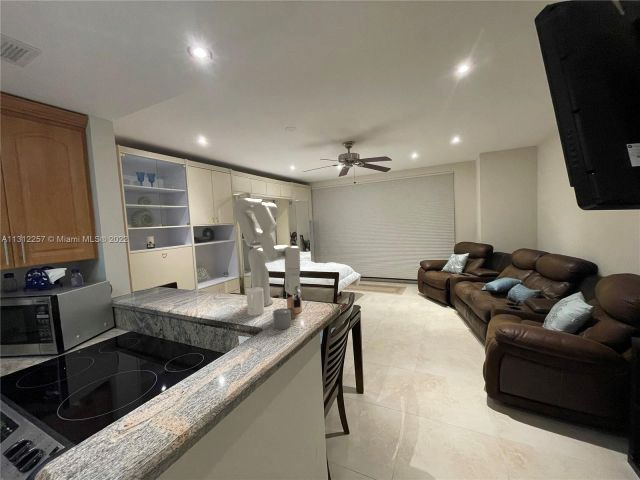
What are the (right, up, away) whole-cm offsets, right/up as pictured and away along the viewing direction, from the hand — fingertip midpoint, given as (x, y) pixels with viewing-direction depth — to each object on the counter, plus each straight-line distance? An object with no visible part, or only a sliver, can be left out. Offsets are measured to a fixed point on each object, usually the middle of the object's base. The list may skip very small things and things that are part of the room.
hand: (293, 304), depth 127 cm
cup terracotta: (+1, -3, 0) cm, 4 cm away
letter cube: (-1, -4, -9) cm, 10 cm away
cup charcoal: (-3, -5, -18) cm, 19 cm away
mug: (-19, -5, -2) cm, 19 cm away
